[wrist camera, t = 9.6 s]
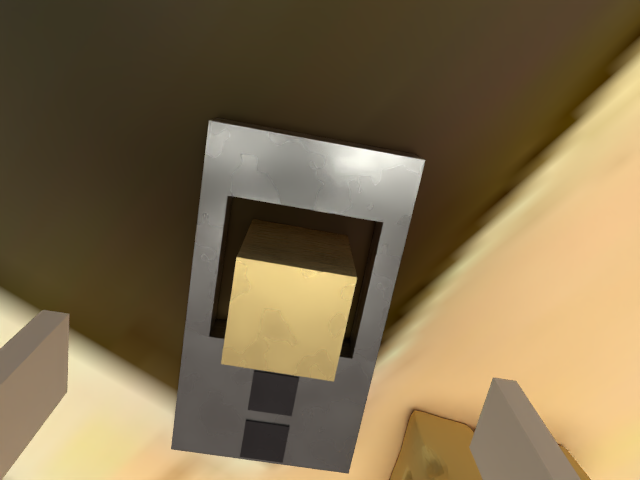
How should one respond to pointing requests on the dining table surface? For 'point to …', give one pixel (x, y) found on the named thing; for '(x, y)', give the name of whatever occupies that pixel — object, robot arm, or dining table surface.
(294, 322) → the yellow cube
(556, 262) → the dining table surface
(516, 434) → the robot arm
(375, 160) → the metal plate
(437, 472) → the cheese
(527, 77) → the dining table surface
